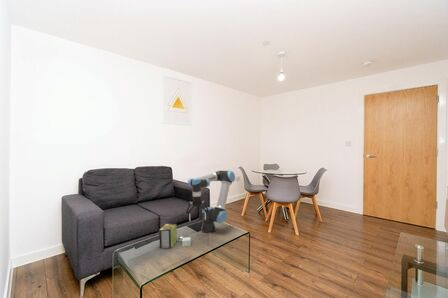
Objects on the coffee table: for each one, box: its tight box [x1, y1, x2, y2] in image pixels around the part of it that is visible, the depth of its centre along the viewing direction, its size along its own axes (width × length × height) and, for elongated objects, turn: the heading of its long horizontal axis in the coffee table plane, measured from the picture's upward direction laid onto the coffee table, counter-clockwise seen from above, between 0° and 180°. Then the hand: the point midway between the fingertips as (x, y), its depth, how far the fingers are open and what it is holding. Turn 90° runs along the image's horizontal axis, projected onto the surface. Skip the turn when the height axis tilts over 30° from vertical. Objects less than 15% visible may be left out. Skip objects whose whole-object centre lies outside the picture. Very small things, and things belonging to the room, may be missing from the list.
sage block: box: [181, 236, 192, 248], centre depth 181 cm, size 7×7×5 cm
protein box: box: [158, 223, 178, 249], centre depth 183 cm, size 10×15×16 cm
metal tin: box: [177, 234, 186, 243], centre depth 189 cm, size 6×6×4 cm
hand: (197, 220), depth 182 cm, fingers open, 13 cm apart
